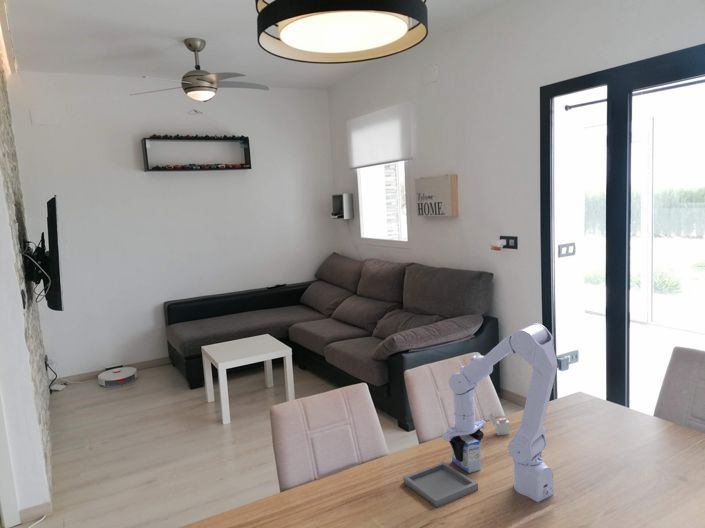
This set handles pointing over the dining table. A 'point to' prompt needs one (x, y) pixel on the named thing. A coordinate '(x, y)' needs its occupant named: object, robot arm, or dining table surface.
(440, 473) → the tray
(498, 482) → the dining table surface
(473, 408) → the robot arm
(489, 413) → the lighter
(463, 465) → the medicine box
